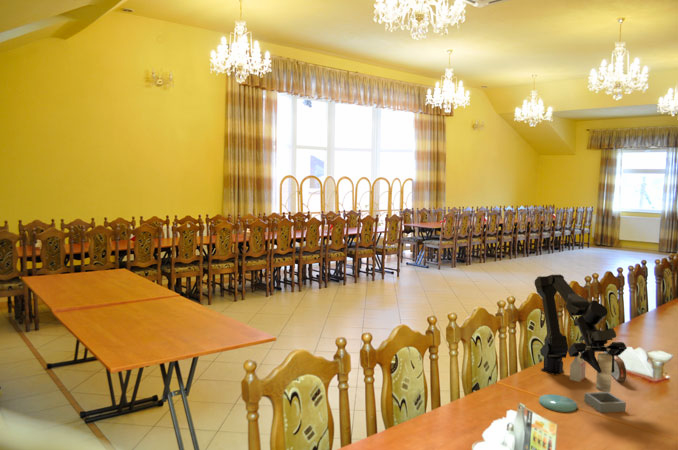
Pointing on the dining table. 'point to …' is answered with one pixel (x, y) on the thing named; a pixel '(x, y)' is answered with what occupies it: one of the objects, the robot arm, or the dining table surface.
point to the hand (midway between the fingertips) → (606, 372)
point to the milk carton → (577, 369)
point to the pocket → (599, 402)
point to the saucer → (558, 403)
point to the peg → (604, 372)
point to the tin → (619, 369)
